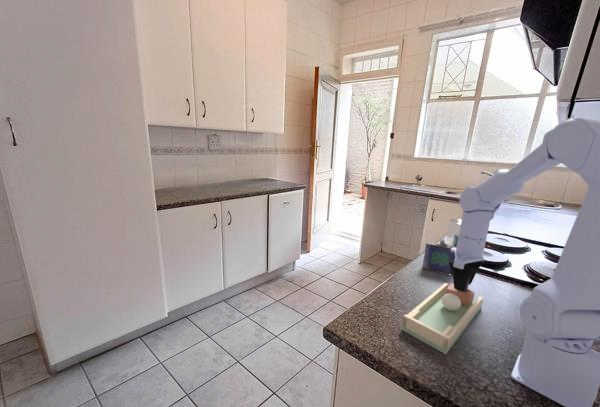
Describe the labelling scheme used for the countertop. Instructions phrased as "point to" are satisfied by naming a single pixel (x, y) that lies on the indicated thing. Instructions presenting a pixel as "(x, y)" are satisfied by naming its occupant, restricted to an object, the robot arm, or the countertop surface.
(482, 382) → the countertop surface
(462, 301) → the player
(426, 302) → the pitch
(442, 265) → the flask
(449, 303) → the ball
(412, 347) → the countertop surface
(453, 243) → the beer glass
